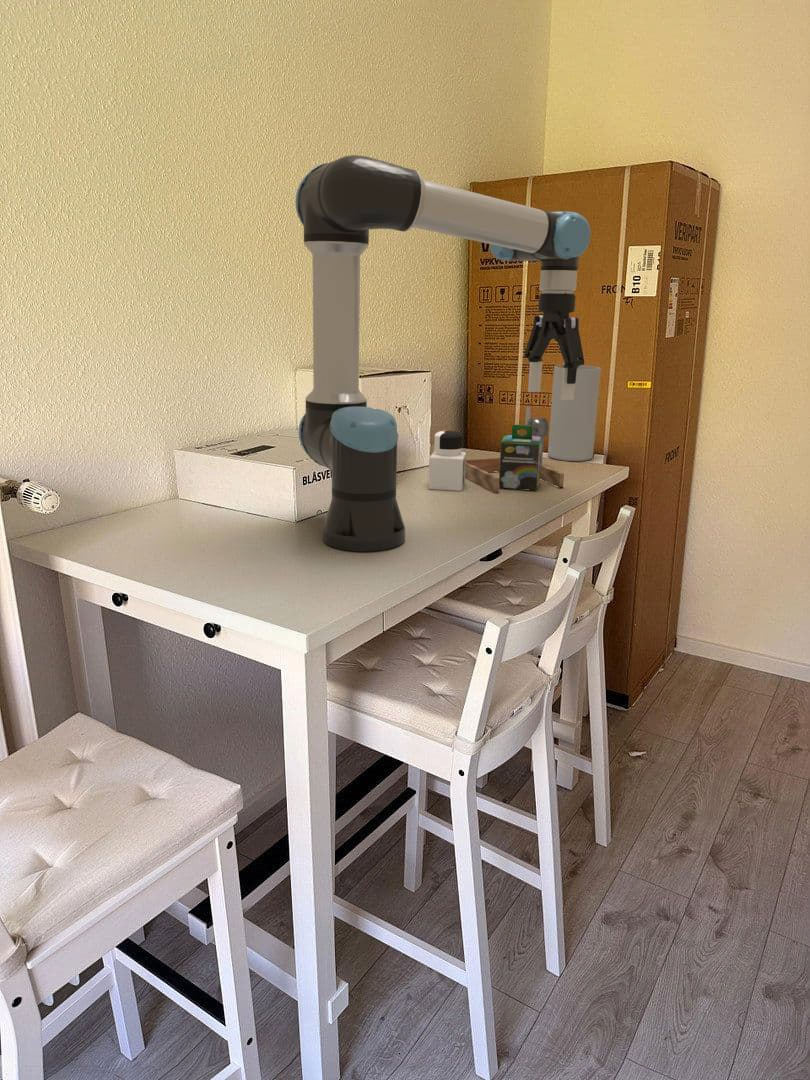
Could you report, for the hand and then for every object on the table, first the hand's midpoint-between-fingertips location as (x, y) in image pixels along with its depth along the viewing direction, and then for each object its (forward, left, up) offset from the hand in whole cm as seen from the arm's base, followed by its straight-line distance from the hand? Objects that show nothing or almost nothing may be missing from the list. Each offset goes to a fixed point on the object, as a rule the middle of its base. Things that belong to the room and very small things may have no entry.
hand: (550, 395), depth 168 cm
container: (+16, +17, -23) cm, 33 cm away
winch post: (+30, -14, -23) cm, 40 cm away
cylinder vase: (+39, -31, -23) cm, 54 cm away
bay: (+17, 0, -23) cm, 28 cm away
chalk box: (+12, 0, -23) cm, 26 cm away
